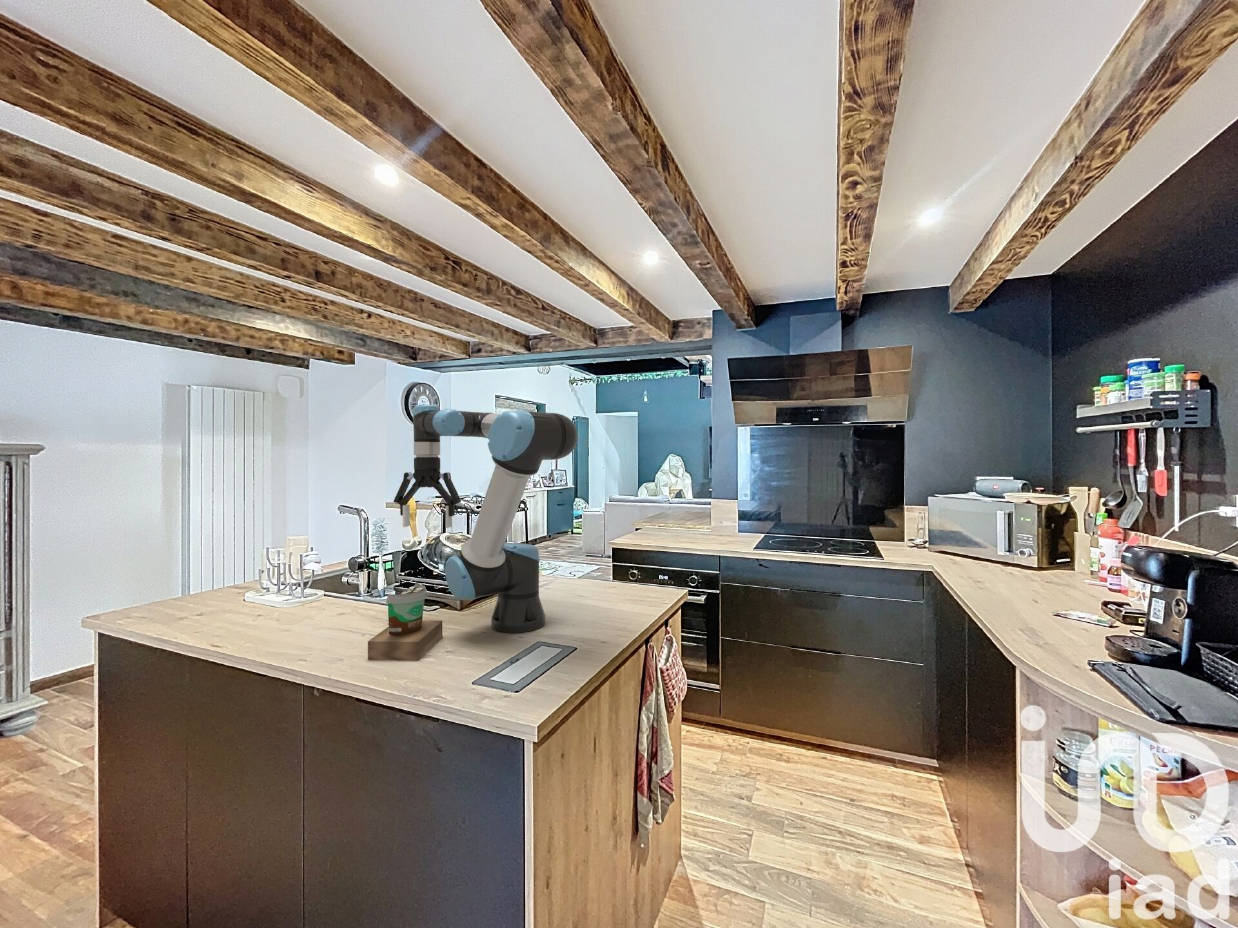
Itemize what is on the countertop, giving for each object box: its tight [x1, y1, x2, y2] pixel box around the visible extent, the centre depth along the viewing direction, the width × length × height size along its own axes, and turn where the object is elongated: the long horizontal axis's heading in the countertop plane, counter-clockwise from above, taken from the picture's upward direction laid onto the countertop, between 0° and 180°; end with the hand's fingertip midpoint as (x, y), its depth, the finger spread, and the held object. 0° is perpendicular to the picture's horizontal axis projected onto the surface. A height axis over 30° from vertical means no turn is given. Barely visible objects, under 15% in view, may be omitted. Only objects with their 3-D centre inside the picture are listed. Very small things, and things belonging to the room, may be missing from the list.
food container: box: [385, 583, 428, 635], centre depth 132 cm, size 12×6×10 cm, turn 168°
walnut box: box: [367, 619, 444, 662], centre depth 132 cm, size 12×16×5 cm
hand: (427, 526), depth 159 cm, fingers open, 13 cm apart
